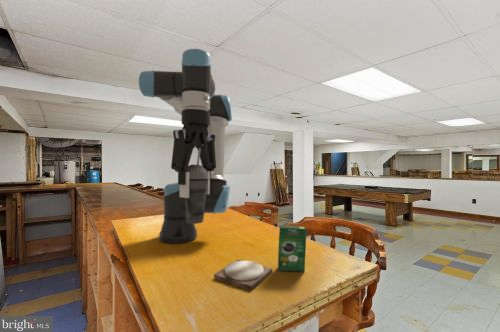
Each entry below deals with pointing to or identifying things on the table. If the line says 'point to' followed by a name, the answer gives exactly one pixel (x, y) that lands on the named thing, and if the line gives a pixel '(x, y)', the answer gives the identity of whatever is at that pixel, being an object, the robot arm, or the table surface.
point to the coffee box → (292, 248)
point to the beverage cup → (196, 193)
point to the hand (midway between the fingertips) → (195, 195)
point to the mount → (243, 274)
